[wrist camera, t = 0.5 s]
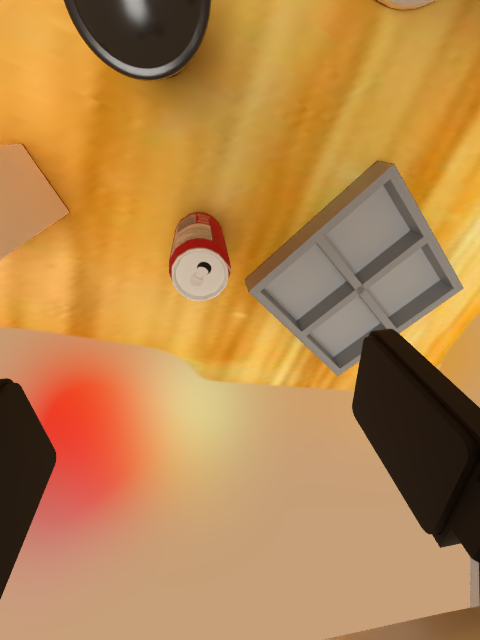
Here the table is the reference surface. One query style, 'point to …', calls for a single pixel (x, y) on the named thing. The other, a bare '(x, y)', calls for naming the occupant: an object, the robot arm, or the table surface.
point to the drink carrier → (356, 270)
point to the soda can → (199, 258)
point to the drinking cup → (142, 33)
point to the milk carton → (24, 199)
